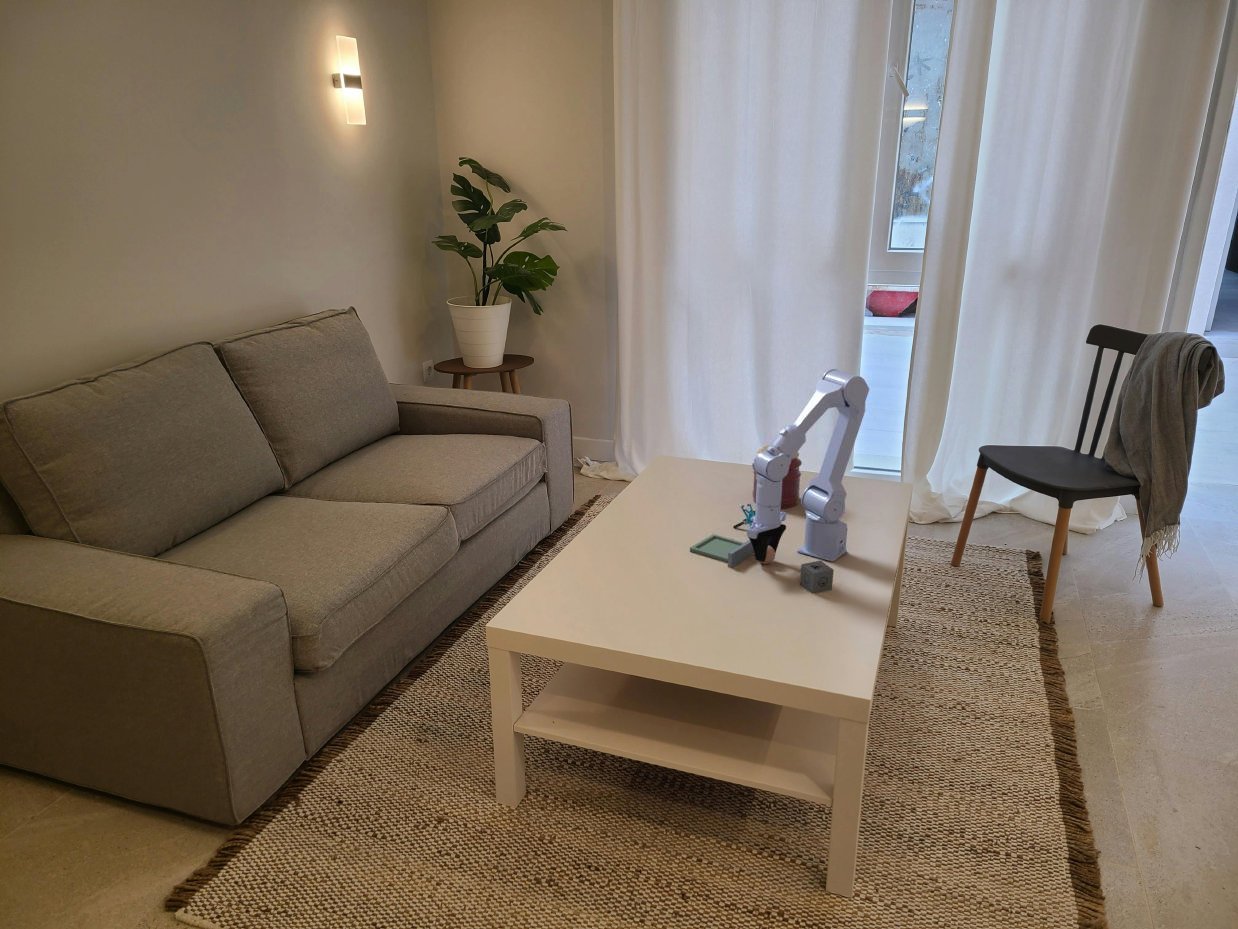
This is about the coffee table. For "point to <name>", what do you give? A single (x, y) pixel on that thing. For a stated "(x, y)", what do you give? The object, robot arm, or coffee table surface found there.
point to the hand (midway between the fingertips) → (765, 557)
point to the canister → (786, 482)
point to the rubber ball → (769, 555)
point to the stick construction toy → (748, 520)
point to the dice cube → (816, 577)
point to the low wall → (740, 553)
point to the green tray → (715, 547)
